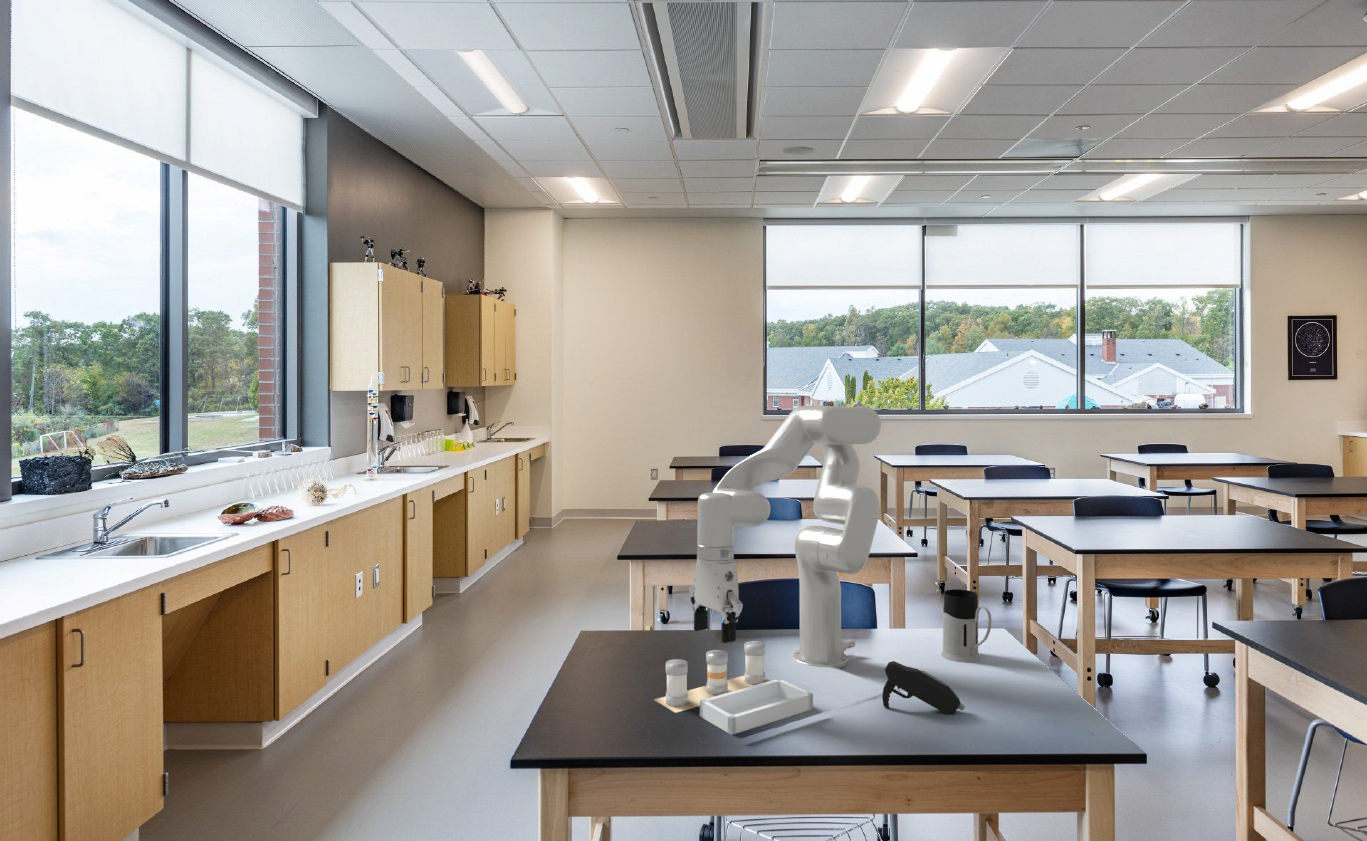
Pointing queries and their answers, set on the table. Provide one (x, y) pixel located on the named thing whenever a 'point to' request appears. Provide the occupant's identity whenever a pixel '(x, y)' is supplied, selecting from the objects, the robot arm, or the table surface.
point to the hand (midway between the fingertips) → (714, 635)
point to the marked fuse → (717, 672)
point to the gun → (920, 688)
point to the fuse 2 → (754, 662)
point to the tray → (755, 706)
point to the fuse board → (705, 694)
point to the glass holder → (962, 625)
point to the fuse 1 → (676, 683)
